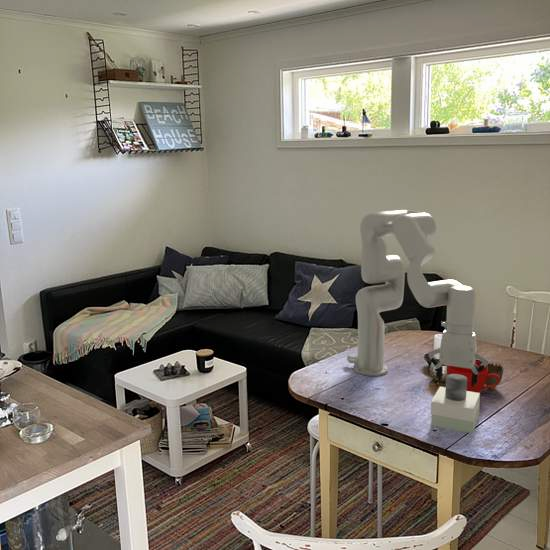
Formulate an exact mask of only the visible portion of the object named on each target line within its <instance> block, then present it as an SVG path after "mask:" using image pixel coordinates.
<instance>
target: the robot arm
mask: <svg viewBox="0 0 550 550" xmlns="http://www.w3.org/2000/svg"><path fill="white" fill-rule="evenodd" d="M359 225H360V227H359V233H360V238H361V244H362V247H361V262H360V263H361V266H360V270H361V271H360V274H361V279H362V281H363V282H364V283H366V284H370V285H371V286H365V287H362V288H361V289H359V290H358V291H357V293H356V295H355V305H356V311H357V329H358V331H357V355H356V356H354V355H349V354H348V355H347V357H346V360H347V361H348V363H350V364H353V366H352V367H353V368H352V369H353V371H354V372H355V373H356V374H359V375H362V376H368V377H377V376H383V375H385V374H386V373H388V371H389V368H388V367H389V366H388V365H387V364H386V363H385V332H386V331H385V330H386V329H385V321H384V319H383V318H382V317H381V315H380V313H382V312H387V311H392V310H397V309H398V308H400V307H401V306H402V304H403V301H404V293H405V292H404V291H405V281H406V280H405V279H406V278H407V284H408V287H409V290H410V291H411V293H412V295H413V297H414V298H415V300H416V301H417V303H418V304H419V305H420V306H422V307H423V308H429V309H430V308H435V307H436V308H437V307H441V306H447V309H446V311H447V312H446V321H441V324H440V325H441V327H444V330H443V331H442V335H441V339H440V345H439V347H438V348H433V349H432V350H429V351H428V352H427V355H428V357H429V359H430V363H432V364H433V365H434V366H435V367H434V368H436V371H435V372H436V375H435V377H436V378H437V382H441V381H442V379H443V371H444V370H443V369H444V367H443V366H447V365H448V366H455V367H461V368H470V369H471V370H472V371H473V373H472V381H471V386H472V387H474V385H475V383H476V384H477V380H478V373H479V372H481V371H482V370H483V369H484V368H485V367H486V365H488V363H490V360H489V359H488V358H486V357H485V356H483V355H481V353H479V352H478V351H477V338H476V337H477V336H476V333H475V332H474V325H475V324H474V321H475V306H476V290H475V288H474V287H471V286H468V285H464V284H462V283H461V282H460V281H458V280H455V279H452V278H451V279H443V280H435V281H427V279H426V278H425V276H424V274H423V271H422V266H423V265H425V264H426V263H427V262H429V261H430V260H431V259H432V258H433V256H435V255H434V254H435V248H434V246H433V244H432V243H431V241H430V240H429V238H432V237H433V236H434V234H435V233H436V231H437V230H436V229H437V225H436V221H435V219H434V217H433V216H432V215H431V214H429V213H427V212H423V211H418V210H417V211H416V210H411V209H395V210H382V211H373V212H370V213H367V214H366V215H364V216H363V218H362V219H361V221H360V224H359ZM388 236H389V237H390V236H391V237H393V236H394V237H395V238H396V240H397V242H398V243H399V246H400V248H401V249H402V251H403V252H404V254H405V257H406V258H407V260H408V261H409V262H408V263H409V264H408V265H407V272H406V270H405V269H406V268H405V264H404V261H403V259H402V258H401V256H399V255H397V254H387V249H388V246H387V242H386V240H385V238H384V237H388ZM405 277H406V278H405ZM381 283H384V284H381ZM372 284H376V285H372ZM377 284H378V285H377ZM438 354H439V356H438V359H437V358H436V356H435V355H438ZM476 361H479V362H482V364H481V365H480V366H477V365H476V364H475V362H476Z"/></svg>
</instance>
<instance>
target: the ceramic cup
mask: <svg viewBox="0 0 550 550" xmlns="http://www.w3.org/2000/svg"><path fill="white" fill-rule="evenodd" d="M475 364H476V365H477V366H480V365H481V364H482V362H481V361H480V360H476V362H475ZM487 365H488V364H487ZM487 365H486V367H485V368H484V369H483V370H482V371H481V372H479V373H478V380H477V384H476V383H475V385H474V387H472V386H471V381H472V373H473V371H472V370H471V369H470V368H461V367H455V366H448V365H446V376H447V375H450V374H459V375H463V376H465V377H466V378H467V391H470V392H476V393H480V394H481V392H482V390H488V389H489V388H494V387H496V388H497V386H499V385H500V383H501V382H500V378H499V376H498V375H497V374H488V375H487V373H488V367H487ZM490 376H495V377H496V378H497V383H496V384H494V385H492V386H485V383H486V380H487V378H488V377H490ZM499 382H500V383H499Z"/></svg>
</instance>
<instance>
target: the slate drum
mask: <svg viewBox="0 0 550 550" xmlns="http://www.w3.org/2000/svg"><path fill="white" fill-rule="evenodd" d="M445 387H446V390H445V397H446V398H448V399H450V400H453V401H463V400H465V399H466V391H467V378H466V377H465V376H463V375H459V374H450V375H447V374H446V376H445Z"/></svg>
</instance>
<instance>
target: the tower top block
mask: <svg viewBox="0 0 550 550" xmlns="http://www.w3.org/2000/svg"><path fill="white" fill-rule="evenodd" d="M445 390H446V386H445V387H444V386H439V387H438V389H437V391H436V393H435V394H434V396H433V397H432V400H431V401H430V414H431V415H432V414H433V415H439V416H444V417H449V418H455V419H460V420H465V421H470V422H473V420H474V417H475V415H476V412H477V410H478V407H479V408H480V406H479V405H480V400H481V397H480V396H481V392H480V393H476V392H470V391H466V399H465V400H463V401H453V400H450V399H448V398H446V397H445Z"/></svg>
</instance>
